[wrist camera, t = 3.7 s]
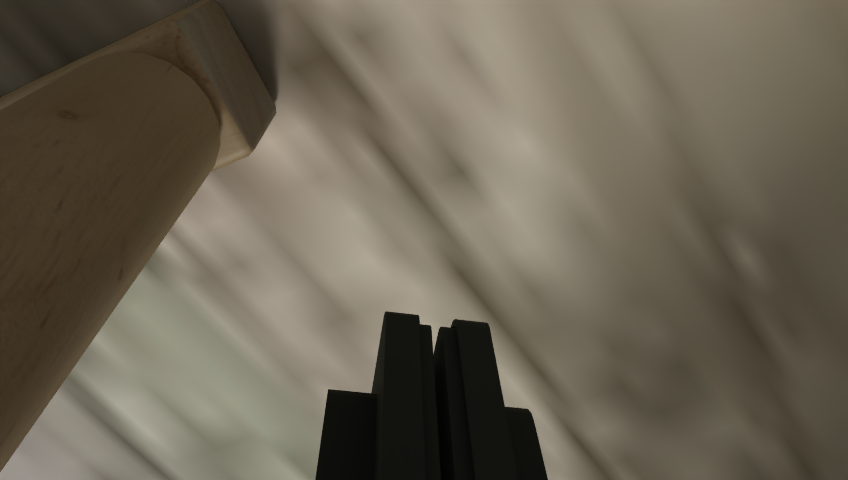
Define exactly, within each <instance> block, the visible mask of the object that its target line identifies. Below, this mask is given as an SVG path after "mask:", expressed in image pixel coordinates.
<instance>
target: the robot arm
mask: <svg viewBox="0 0 848 480" xmlns="http://www.w3.org/2000/svg"><path fill="white" fill-rule="evenodd" d="M316 480H548V478H547V474H546V470H545V466H544V461H543V457H542V453H541V449H540V445H539V440H538V436H537V432H536V428H535V423H534V420H533V417H532V414H531V412H530V411H529V410H528V409H522V408H512V407H505V406H504V401H503V395H502V390H501V385H500V380H499V374H498V369H497V364H496V358H495V353H494V348H493V343H492V337H491V332H490V327H489V324H488V323H484V322H475V321H466V320H457V319H455V320H453V322H452V325H451V328H448V327H440V329H439V332H438V336H437V341H436V345H435V350H434V355H433V345H432V330H431V326H430V325H421V324H420V321H419V315H413V314H404V313H395V312H385V314H384V319H383V325H382V331H381V338H380V344H379V350H378V356H377V362H376V368H375V375H374V381H373V387H372V393H361V392H351V391H341V390H330V389H328V394H327V401H326V408H325V416H324V423H323V430H322V437H321V444H320V451H319V458H318V465H317V472H316Z"/></svg>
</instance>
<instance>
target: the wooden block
mask: <svg viewBox="0 0 848 480" xmlns="http://www.w3.org/2000/svg"><path fill="white" fill-rule="evenodd" d="M275 114H276V106H275V103H274V101H273V100H272V98H271V96H270V94H269V92H268V90H267V89H266V87H265V85H264V83H263V81H262V80H261V78H260V76H259V74H258V72H257V70H256V69H255V67H254V65H253V63H252V61H251V59H250V58H249V56H248V54H247V52H246V50H245V49H244V47H243V45H242V43H241V41H240V39H239V38H238V36H237V34H236V32H235V30H234V29H233V27H232V25H231V23H230V21H229V19H228V18H227V16H226V14H225V12H224V10H223V8H222V7H221V5H220V4H219V3H218V2H217V1H216V0H201V1H199V2H196V3H194V4H192V5H190V6H188V7H186V8H184V9H182V10H180V11H178V12H176V13H174V14H171V15H169V16H167V17H165V18H163V19H161V20H159V21H157V22H155V23H153V24H151V25H149V26H146V27H144V28H142V29H140V30H138V31H136V32H134V33H132V34H130V35H128V36H126V37H124V38H121V39H119V40H117V41H115V42H113V43H111V44H109V45H107V46H105V47H103V48H101V49H99V50H96V51H94V52H92V53H90V54H88V55H86V56H84V57H82V58H80V59H78V60H76V61H74V62H71V63H69V64H67V65H65V66H63V67H61V68H59V69H57V70H55V71H53V72H51V73H49V74H46V75H44V76H42V77H40V78H38V79H36V80H34V81H32V82H30V83H28V84H26V85H24V86H21V87H19V88H17V89H15V90H13V91H11V92H9V93H7V94H5V95H3V96H1V97H0V472H1V470H2V469H3V468H4V466H5V465H6V463H7V462H8V460H9V459H10V458H11V456H12V455H13V453H14V452H15V450H16V449H17V448H18V446H19V445H20V443H21V442H22V440H23V439H24V438H25V436H26V435H27V433H28V432H29V430H30V429H31V428H32V426H33V425H34V423H35V422H36V420H37V419H38V417H39V416H40V415H41V413H42V412H43V410H44V409H45V407H46V406H47V405H48V403H49V402H50V400H51V399H52V397H53V396H54V395H55V393H56V392H57V390H58V389H59V387H60V386H61V385H62V383H63V382H64V380H65V379H66V377H67V376H68V375H69V373H70V372H71V370H72V369H73V367H74V366H75V365H76V363H77V362H78V360H79V359H80V357H81V356H82V355H83V353H84V352H85V350H86V349H87V347H88V346H89V345H90V343H91V342H92V340H93V339H94V337H95V336H96V335H97V333H98V332H99V330H100V329H101V327H102V326H103V325H104V323H105V322H106V320H107V319H108V317H109V316H110V315H111V313H112V312H113V310H114V309H115V307H116V306H117V305H118V303H119V302H120V300H121V299H122V297H123V296H124V295H125V293H126V292H127V290H128V289H129V287H130V286H131V285H132V283H133V282H134V280H135V279H136V277H137V276H138V275H139V273H140V272H141V270H142V269H143V267H144V266H145V265H146V263H147V262H148V260H149V259H150V257H151V256H152V255H153V253H154V252H155V250H156V249H157V247H158V246H159V245H160V243H161V242H162V240H163V239H164V237H165V236H166V235H167V233H168V232H169V230H170V229H171V227H172V226H173V225H174V223H175V222H176V220H177V219H178V217H179V216H180V215H181V213H182V212H183V210H184V209H185V207H186V206H187V205H188V203H189V202H190V200H191V199H192V197H193V196H194V195H195V193H196V192H197V190H198V189H199V187H200V186H201V185H202V183H203V182H204V180H205V179H206V177H207V176H208V175H209V173H210V172H211V171H214V170H216V169H218V168H221V167H223V166H225V165H228V164H230V163H233V162H235V161H237V160H240V159H242V158H244V157H247V156H249V155H250V154H251V153H252V152H253V150H254V149H255V148H256V146H257V144H258V143H259V141H260V139H261V138H262V136H263V134H264V132H265V131H266V129H267V127H268V126H269V124H270V122H271V121H272V119H273V117H274V116H275Z"/></svg>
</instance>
